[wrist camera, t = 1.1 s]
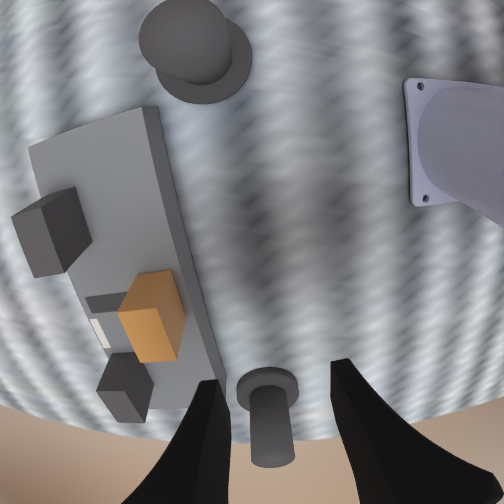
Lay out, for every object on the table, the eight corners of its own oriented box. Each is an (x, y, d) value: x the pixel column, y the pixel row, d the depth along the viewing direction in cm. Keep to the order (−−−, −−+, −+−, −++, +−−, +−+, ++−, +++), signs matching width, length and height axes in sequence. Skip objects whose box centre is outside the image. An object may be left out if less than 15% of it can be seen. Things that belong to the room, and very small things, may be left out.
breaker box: (157, 106, 16) (113, 108, 10) (226, 376, 25) (223, 444, 19) (54, 139, 16) (-12, 160, 10) (145, 382, 25) (129, 444, 19)
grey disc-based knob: (243, 12, 14) (244, -39, 8) (258, 95, 16) (268, 87, 10) (153, 31, 14) (105, -5, 8) (167, 112, 16) (124, 117, 10)
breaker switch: (170, 269, 17) (156, 307, 14) (186, 318, 18) (176, 360, 15) (136, 274, 17) (116, 312, 14) (154, 321, 18) (140, 362, 15)
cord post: (295, 362, 24) (308, 436, 18) (299, 401, 26) (310, 468, 20) (231, 371, 24) (229, 446, 18) (242, 408, 26) (243, 475, 20)
